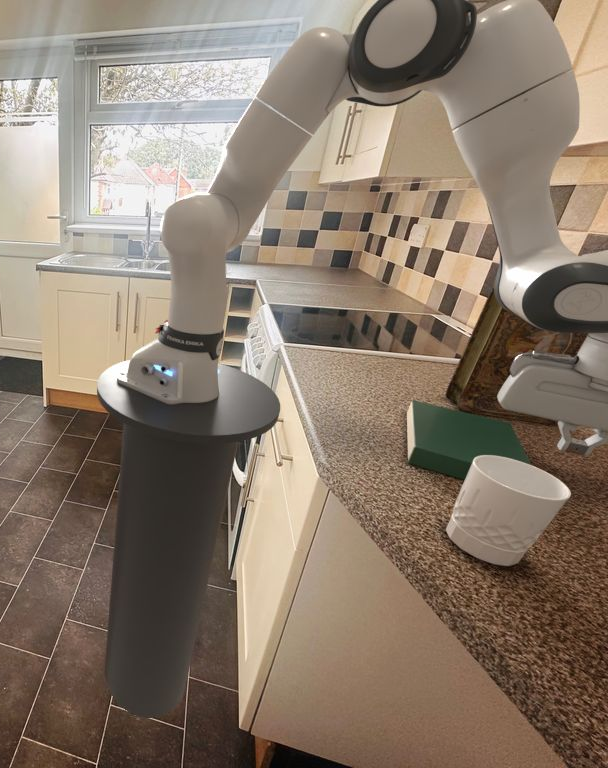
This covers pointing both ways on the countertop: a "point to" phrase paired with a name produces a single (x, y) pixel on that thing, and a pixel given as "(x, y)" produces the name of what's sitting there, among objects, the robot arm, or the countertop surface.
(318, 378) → the countertop surface
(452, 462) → the hardback
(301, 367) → the countertop surface
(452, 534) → the white cup
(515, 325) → the book
